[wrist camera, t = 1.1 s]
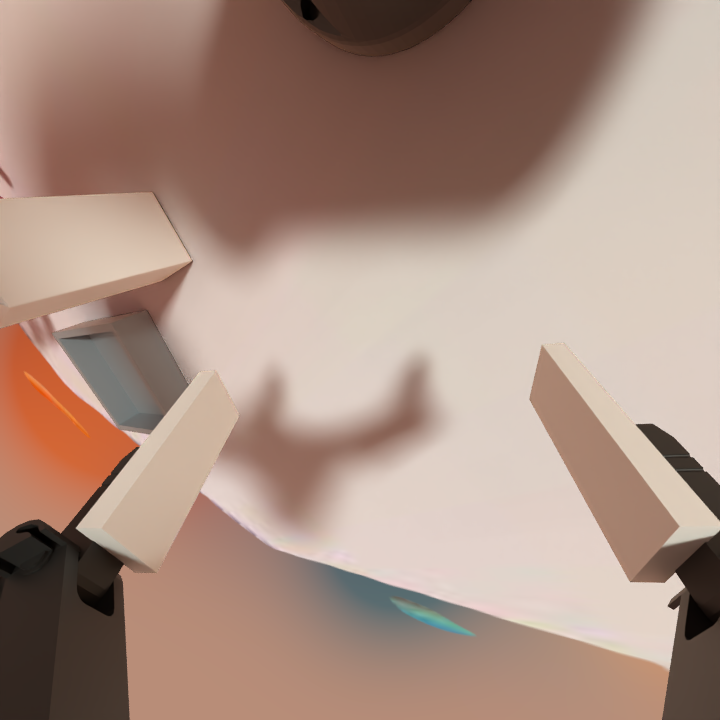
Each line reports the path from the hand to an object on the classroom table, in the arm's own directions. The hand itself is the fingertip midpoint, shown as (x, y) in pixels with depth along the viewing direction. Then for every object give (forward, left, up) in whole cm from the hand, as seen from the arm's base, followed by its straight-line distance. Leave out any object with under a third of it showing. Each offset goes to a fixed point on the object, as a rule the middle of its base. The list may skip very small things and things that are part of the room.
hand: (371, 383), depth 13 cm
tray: (+6, -47, -13) cm, 49 cm away
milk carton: (-10, -29, -14) cm, 33 cm away
